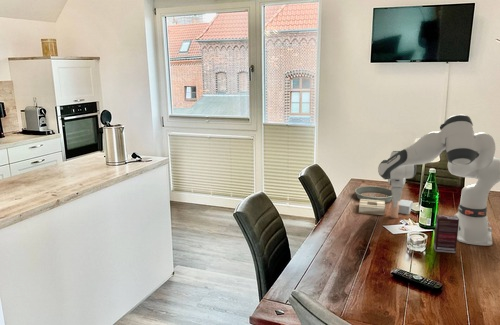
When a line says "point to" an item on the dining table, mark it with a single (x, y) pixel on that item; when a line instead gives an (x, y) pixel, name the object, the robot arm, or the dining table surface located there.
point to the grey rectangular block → (405, 206)
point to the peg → (394, 210)
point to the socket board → (372, 207)
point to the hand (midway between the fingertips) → (394, 203)
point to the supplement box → (446, 233)
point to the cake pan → (373, 190)
